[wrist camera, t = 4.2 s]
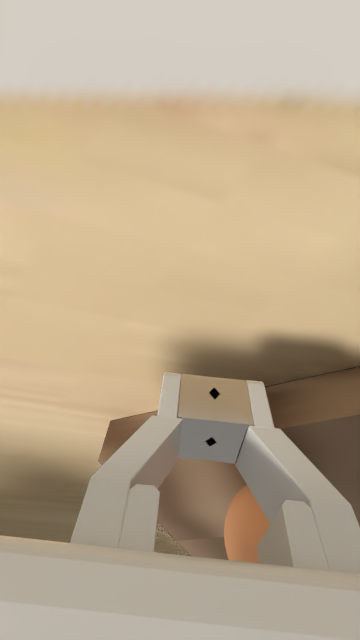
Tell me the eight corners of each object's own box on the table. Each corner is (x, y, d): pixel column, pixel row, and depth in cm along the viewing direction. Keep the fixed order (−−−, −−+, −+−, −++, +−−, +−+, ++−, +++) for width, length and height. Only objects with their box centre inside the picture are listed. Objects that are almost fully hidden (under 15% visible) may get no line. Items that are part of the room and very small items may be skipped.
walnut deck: (215, 548, 28) (216, 582, 25) (110, 421, 17) (98, 460, 15) (405, 533, 23) (425, 573, 21) (411, 355, 13) (449, 398, 11)
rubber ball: (235, 509, 18) (246, 628, 13) (208, 465, 15) (210, 595, 11) (323, 499, 16) (364, 628, 12) (309, 449, 14) (355, 591, 10)
